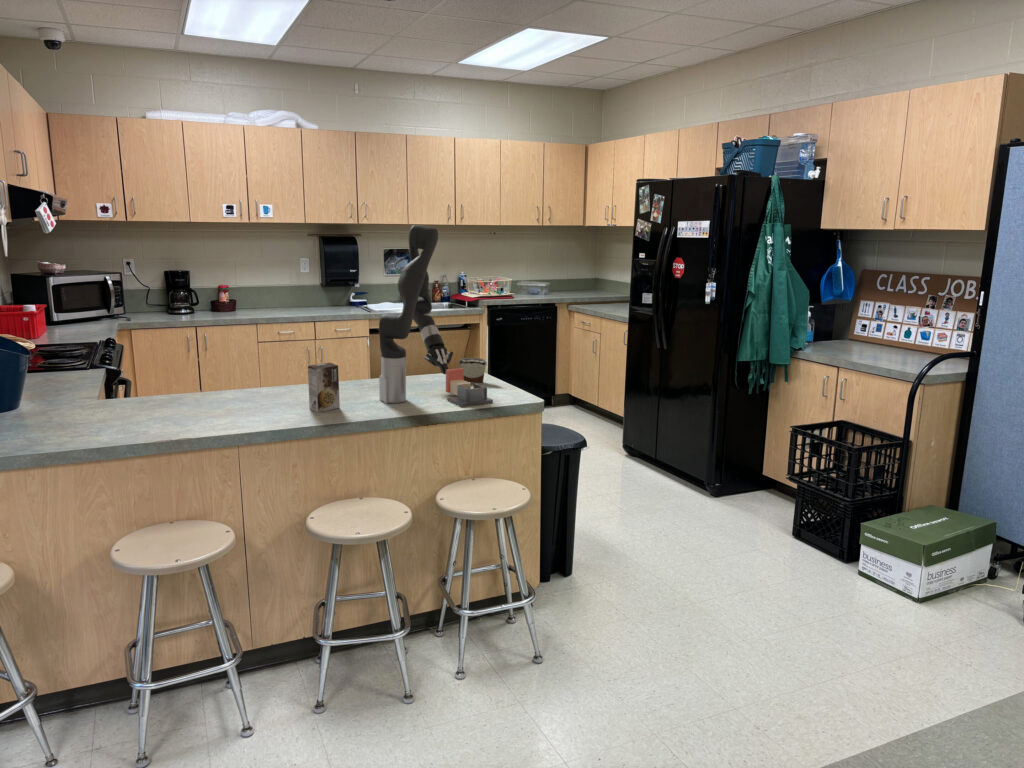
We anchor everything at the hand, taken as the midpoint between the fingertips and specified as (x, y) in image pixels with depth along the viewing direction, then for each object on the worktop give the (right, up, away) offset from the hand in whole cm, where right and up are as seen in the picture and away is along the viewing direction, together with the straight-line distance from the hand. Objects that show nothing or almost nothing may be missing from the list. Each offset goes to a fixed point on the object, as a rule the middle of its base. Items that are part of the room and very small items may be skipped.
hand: (446, 373), depth 287 cm
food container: (+10, -3, +20) cm, 23 cm away
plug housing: (+10, -11, -14) cm, 21 cm away
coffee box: (-42, -13, -30) cm, 53 cm away
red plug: (+6, -8, -7) cm, 12 cm away
